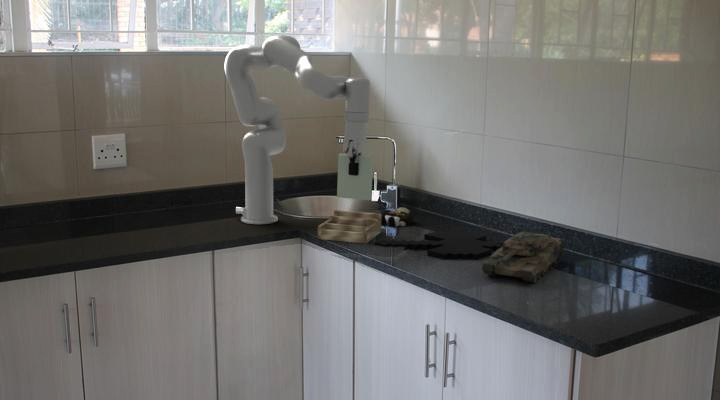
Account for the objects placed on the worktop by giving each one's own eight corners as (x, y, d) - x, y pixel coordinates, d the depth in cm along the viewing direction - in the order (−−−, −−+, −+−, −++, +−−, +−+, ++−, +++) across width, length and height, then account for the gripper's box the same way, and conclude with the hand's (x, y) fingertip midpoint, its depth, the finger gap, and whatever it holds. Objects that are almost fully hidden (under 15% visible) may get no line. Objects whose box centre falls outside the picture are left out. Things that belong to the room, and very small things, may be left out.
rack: (317, 241, 255) (317, 219, 254) (334, 230, 270) (334, 209, 269) (366, 246, 250) (366, 224, 249) (380, 234, 265) (381, 213, 264)
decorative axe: (438, 225, 272) (515, 242, 252) (437, 232, 273) (515, 248, 253) (374, 242, 249) (454, 261, 229) (374, 249, 249) (453, 268, 229)
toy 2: (471, 286, 213) (473, 249, 211) (519, 255, 244) (521, 222, 242) (520, 295, 206) (523, 257, 204) (563, 262, 238) (566, 228, 236)
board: (337, 197, 264) (338, 154, 261) (339, 196, 266) (340, 153, 263) (369, 200, 261) (371, 157, 258) (371, 199, 262) (373, 156, 260)
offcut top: (337, 226, 258) (337, 219, 257) (341, 223, 262) (341, 216, 262) (362, 228, 256) (362, 220, 256) (365, 225, 260) (365, 217, 260)
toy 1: (368, 215, 275) (389, 196, 286) (371, 234, 278) (392, 215, 290) (401, 220, 269) (421, 200, 280) (403, 240, 272) (423, 220, 283)
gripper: (353, 114, 266) (351, 169, 270) (337, 118, 251) (335, 177, 255) (375, 115, 264) (373, 171, 268) (360, 120, 249) (358, 179, 253)
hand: (354, 174), depth 261 cm, fingers closed on board, 2 cm apart
